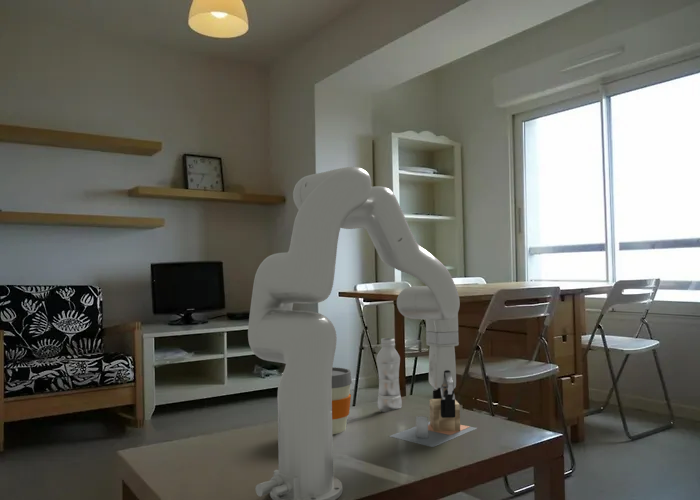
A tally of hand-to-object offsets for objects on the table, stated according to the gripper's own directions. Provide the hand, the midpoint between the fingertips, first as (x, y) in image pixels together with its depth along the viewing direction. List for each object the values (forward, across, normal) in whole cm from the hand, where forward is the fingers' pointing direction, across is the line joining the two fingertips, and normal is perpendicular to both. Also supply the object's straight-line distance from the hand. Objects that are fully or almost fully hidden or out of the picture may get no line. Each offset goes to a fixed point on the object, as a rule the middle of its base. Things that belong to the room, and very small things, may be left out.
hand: (443, 411), depth 128 cm
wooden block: (+4, 0, 0) cm, 4 cm away
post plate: (+5, +3, -3) cm, 7 cm away
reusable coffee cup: (+6, -2, -28) cm, 28 cm away
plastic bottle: (+5, -22, -11) cm, 25 cm away
